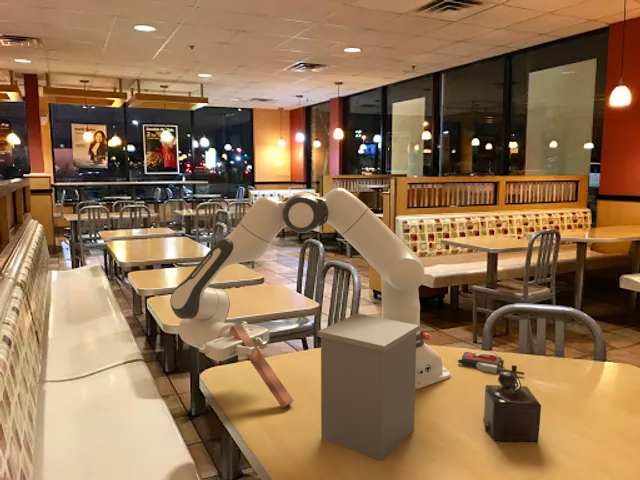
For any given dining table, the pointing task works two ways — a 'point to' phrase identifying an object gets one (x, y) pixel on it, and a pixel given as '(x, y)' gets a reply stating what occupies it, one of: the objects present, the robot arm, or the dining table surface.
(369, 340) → the shelf block
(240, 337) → the copper-colored stick
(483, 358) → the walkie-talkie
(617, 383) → the dining table surface
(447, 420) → the dining table surface
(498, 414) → the manual coffee grinder
